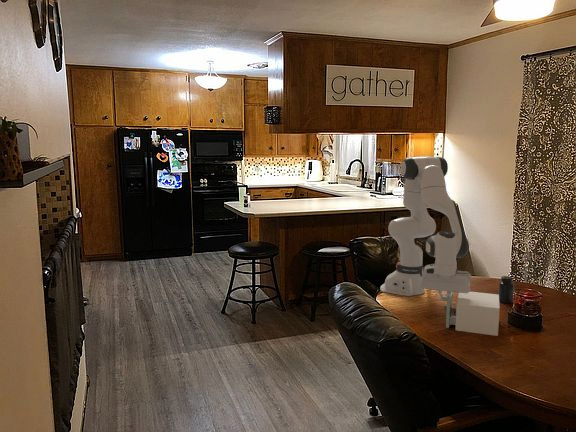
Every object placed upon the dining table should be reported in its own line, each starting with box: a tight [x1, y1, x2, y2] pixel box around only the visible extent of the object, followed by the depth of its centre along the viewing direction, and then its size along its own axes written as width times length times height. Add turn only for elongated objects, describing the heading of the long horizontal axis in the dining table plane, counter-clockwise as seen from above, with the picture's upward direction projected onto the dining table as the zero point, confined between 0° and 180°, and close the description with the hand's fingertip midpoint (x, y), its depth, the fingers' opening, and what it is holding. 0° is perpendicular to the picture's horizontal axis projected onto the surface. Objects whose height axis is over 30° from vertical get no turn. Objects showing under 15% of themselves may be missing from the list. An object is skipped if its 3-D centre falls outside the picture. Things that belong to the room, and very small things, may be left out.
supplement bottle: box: [497, 275, 515, 304], centre depth 226 cm, size 7×7×12 cm
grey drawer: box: [443, 292, 456, 329], centre depth 200 cm, size 16×18×11 cm
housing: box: [455, 291, 500, 337], centre depth 198 cm, size 16×18×12 cm
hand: (444, 300), depth 202 cm, fingers closed
